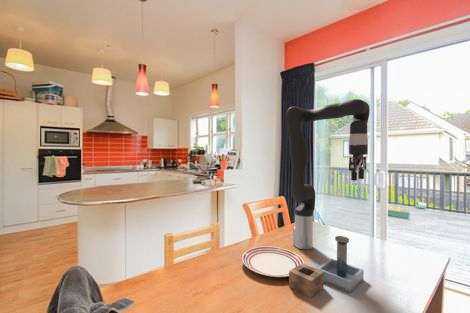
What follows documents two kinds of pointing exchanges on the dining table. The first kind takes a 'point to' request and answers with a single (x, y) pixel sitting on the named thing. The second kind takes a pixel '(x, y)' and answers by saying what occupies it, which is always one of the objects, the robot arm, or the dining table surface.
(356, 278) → the tray
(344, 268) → the pin
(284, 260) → the dinner plate
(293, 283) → the block
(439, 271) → the dining table surface
